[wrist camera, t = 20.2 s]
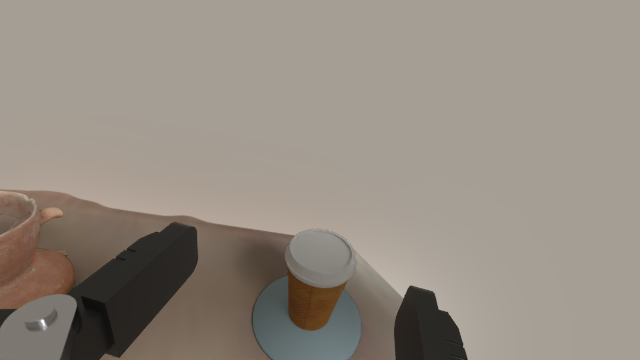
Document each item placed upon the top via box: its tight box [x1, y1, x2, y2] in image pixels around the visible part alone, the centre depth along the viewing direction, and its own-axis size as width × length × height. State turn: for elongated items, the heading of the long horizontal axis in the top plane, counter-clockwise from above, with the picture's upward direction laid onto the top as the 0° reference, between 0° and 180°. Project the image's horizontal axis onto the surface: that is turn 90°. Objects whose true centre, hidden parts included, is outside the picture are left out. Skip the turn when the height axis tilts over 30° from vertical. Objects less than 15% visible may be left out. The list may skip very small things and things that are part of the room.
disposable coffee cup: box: [285, 229, 356, 331], centre depth 38 cm, size 10×10×12 cm
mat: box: [253, 275, 362, 360], centre depth 40 cm, size 16×16×1 cm
